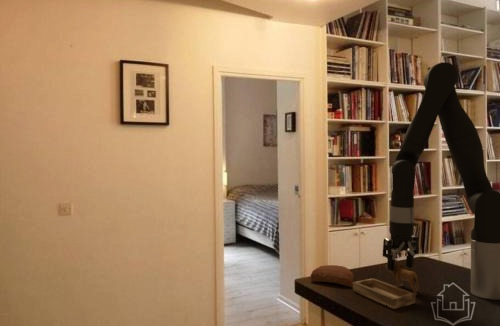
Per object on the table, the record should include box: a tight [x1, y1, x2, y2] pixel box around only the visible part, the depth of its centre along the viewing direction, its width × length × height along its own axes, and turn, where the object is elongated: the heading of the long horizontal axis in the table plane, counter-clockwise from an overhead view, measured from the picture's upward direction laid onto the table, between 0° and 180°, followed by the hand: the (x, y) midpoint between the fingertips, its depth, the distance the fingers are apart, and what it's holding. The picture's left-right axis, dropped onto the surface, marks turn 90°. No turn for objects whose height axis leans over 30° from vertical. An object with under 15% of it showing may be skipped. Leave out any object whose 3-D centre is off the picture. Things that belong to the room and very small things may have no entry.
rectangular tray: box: [352, 277, 416, 310], centre depth 121 cm, size 9×17×3 cm, turn 27°
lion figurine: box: [384, 258, 426, 296], centre depth 128 cm, size 15×5×9 cm, turn 28°
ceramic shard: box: [310, 264, 355, 288], centre depth 139 cm, size 15×6×15 cm
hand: (400, 268), depth 129 cm, fingers open, 8 cm apart
